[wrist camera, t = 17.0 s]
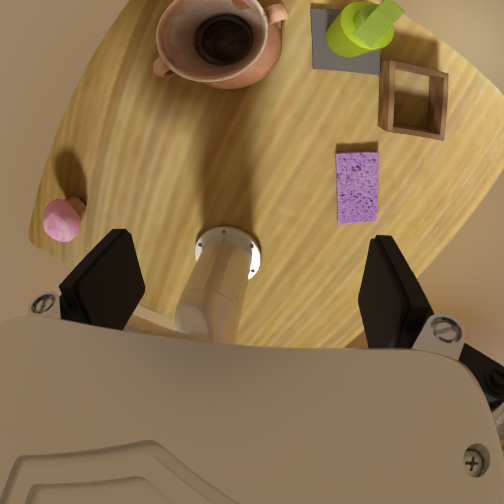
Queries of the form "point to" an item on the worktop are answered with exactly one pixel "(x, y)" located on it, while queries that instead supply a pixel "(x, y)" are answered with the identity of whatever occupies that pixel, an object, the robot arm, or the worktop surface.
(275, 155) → the worktop surface
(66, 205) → the cupcake
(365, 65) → the mat
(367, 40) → the soap dispenser
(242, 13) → the ceramic jug
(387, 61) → the holder
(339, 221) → the sponges
